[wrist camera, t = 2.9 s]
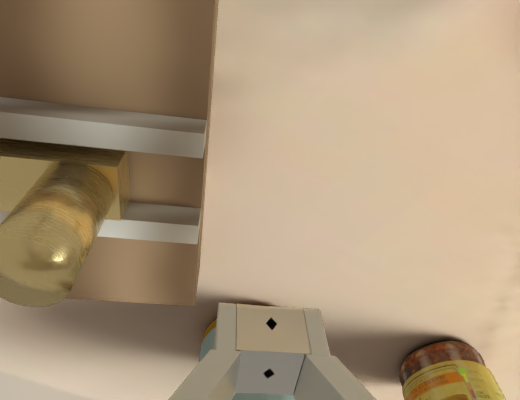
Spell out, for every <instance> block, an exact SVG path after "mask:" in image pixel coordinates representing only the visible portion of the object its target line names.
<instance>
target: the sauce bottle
mask: <svg viewBox="0 0 520 400" xmlns="http://www.w3.org/2000/svg"><path fill="white" fill-rule="evenodd" d="M400 382H401V385H402V391H403V396H404V399H405V400H506V399H505V397H504V395H503V393H502V391H501V389H500V387H499V386H498V384H497V382H496V380H495V378H494V376H493V374H492V373H491V371H490V370H489V369H488V368H487V367H486V366H485V363H484V360H483V359H482V357H481V355H480V354H479V353H478V352H477V351H476V350H475V349H474V348H473V347H472V346H470V345H469V344H464V343H462V342H456V341H445V342H440V343H433V344H431V345H428V346H425V347H422V348H420V349H418V350H417V351H414V352H412V354H410V355H408V356H407V358H406V359H405V360H404V362H403V364H402V366H401V369H400Z"/></svg>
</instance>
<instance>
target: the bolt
mask: <svg viewBox="0 0 520 400" xmlns="http://www.w3.org/2000/svg"><path fill="white" fill-rule="evenodd" d="M129 200H130V184H129V165H128V151H125V150H115V149H105V148H95V147H85V146H76V145H66V144H56V143H46V142H36V141H27V140H17V139H7V138H0V211H11V212H10V213H9V215H8V216H7V217H6V218H5V219H4V221H3V222H2V223H1V224H0V298H2V299H4V300H7V301H9V302H12V303H15V304H19V305H24V306H31V307H41V306H49V305H52V304H55V303H58V302H60V301H61V300H63V299H64V298H65V297H66V296H67V295H68V294H69V293H70V291H71V289H72V287H73V285H74V283H75V280H76V278H77V276H78V274H79V272H80V270H81V268H82V266H83V264H84V262H85V260H86V258H87V256H88V254H89V251H90V249H91V247H92V245H93V243H94V241H95V239H96V237H97V235H98V233H99V231H100V229H101V227H102V224H103V222H104V220H105V219H106V220H118V221H121V219H122V217H123V214H124V212H125V209H126V207H127V205H128V202H129Z"/></svg>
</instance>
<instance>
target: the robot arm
mask: <svg viewBox="0 0 520 400" xmlns="http://www.w3.org/2000/svg"><path fill="white" fill-rule="evenodd" d="M235 393H265V394H280V395H294V399H295V400H376V399H375V398H374V397H373V396H372V395H371V393H370V392H369V391H368V390H367V389H366V388H365V387H364V386H363V385H362V384H361V383H360V382H359V381H358V380H357V378H356V377H355V376H354V375H353V374H352V373H351V372H350V371H349V370H348V369H347V368H346V367H345V366H344V364H343V363H342V362H341V361H340V360H339V359H338V358H337V357H336V356H331V355H330V351H329V346H328V342H327V337H326V333H325V329H324V324H323V320H322V315H321V311H320V310H319V309H312V308H295V307H276V306H258V305H247V304H232V303H220V302H219V304H218V312H217V321H216V330H215V340H214V350H211V349H210V350H209V352H208V353H207V354H206V355H205V356H204V358H203V359H202V360H201V361H200V362H199V364H198V365H197V366H196V367H195V368H194V370H193V371H192V372H191V373H190V374H189V376H188V377H187V378H186V379H185V380H184V382H183V383H182V384H181V385H180V386H179V388H178V389H177V390H176V391H175V392H174V394H173V395H172V396H171V397H170V398H169V400H232V398H233V397H234V395H235Z"/></svg>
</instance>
